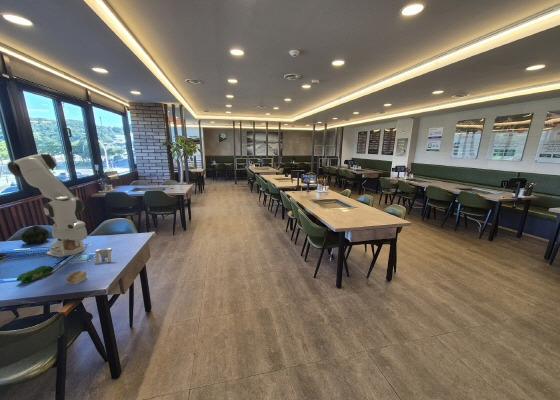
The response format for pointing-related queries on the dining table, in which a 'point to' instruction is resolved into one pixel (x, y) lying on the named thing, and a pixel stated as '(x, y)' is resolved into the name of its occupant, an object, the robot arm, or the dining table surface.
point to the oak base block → (76, 276)
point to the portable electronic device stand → (103, 255)
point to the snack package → (35, 274)
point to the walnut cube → (70, 245)
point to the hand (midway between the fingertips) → (71, 245)
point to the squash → (35, 234)
